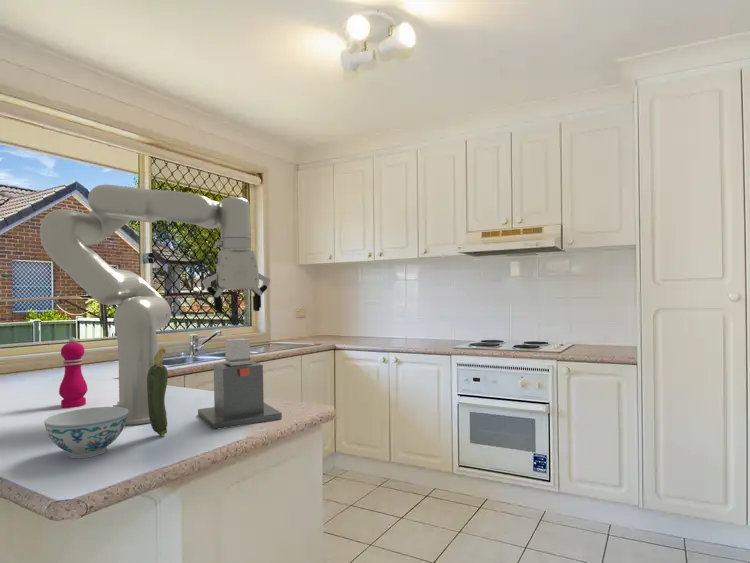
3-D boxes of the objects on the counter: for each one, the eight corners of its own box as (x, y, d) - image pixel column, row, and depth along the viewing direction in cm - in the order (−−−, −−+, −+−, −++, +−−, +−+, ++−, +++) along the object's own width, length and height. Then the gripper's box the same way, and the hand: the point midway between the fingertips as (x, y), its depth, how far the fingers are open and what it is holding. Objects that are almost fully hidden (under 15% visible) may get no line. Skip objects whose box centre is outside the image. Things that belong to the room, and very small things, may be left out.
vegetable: (148, 439, 112) (146, 349, 113) (147, 434, 116) (145, 347, 117) (170, 436, 114) (168, 347, 115) (168, 431, 118) (166, 346, 119)
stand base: (212, 429, 119) (211, 372, 119) (198, 414, 134) (197, 363, 134) (281, 418, 128) (280, 365, 128) (260, 406, 142) (259, 358, 142)
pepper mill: (74, 408, 145) (73, 338, 145) (53, 407, 146) (52, 338, 146) (93, 402, 152) (92, 336, 152) (72, 402, 153) (71, 336, 154)
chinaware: (133, 455, 102) (133, 416, 102) (44, 471, 94) (44, 429, 94) (124, 437, 114) (123, 403, 114) (45, 450, 106) (44, 413, 106)
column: (231, 413, 127) (230, 340, 127) (226, 409, 132) (224, 339, 132) (251, 410, 130) (250, 339, 130) (245, 406, 134) (244, 337, 134)
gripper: (204, 244, 124) (207, 314, 123) (273, 245, 132) (275, 310, 132) (198, 246, 130) (200, 313, 130) (263, 247, 139) (266, 309, 139)
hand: (238, 311), depth 131 cm, fingers open, 9 cm apart
